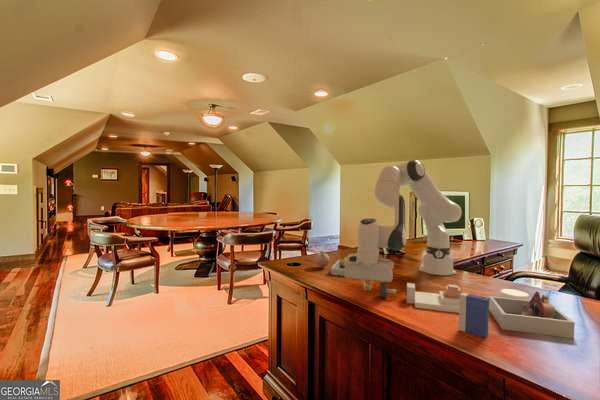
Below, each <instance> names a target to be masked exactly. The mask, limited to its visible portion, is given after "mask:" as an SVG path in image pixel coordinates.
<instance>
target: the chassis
mask: <svg viewBox="0 0 600 400" xmlns="http://www.w3.org/2000/svg"><path fill="white" fill-rule="evenodd" d="M462 293H463V292H461V294H462ZM459 301H460V299H453V298H445V290H444V291H443V290H439V291H438V293H434V292H427V291H426V292H425V291H417V290H416V284H415V283H413V282H406V304H411V305H414V308H416V309H417V308H418V309H424V310H430V311H431V310H432V311H433V310H434V311H442V312H447V313H458V314H459V306H460V305H459Z"/></svg>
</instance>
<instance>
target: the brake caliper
mask: <svg viewBox="0 0 600 400" xmlns="http://www.w3.org/2000/svg"><path fill="white" fill-rule="evenodd" d="M549 298H550V296H549V295H546V294H543V293H542V296H541V295H540V292H539V291H538V290H536V291H535V293H534V294H533V295H532V297H531V300H530V299H529V300H530V303H529V304H530V309H527V308H526V305H525V304H524V305H523V306H522V309H521V311H520V314H519V315H524V316H533V317H541V318H550V319H555V315H556V311H555V308H554V307H555V306H554V305H553V304H552V303H551V304H552V305H551V304H550V299H549ZM542 302H543V303H542ZM534 303H535V304H536V305H535V307H534Z"/></svg>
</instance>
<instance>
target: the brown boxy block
mask: <svg viewBox="0 0 600 400" xmlns="http://www.w3.org/2000/svg"><path fill="white" fill-rule="evenodd" d="M444 291H445V298H453V299H460V294H461V293H462V289H461V287H460V286H458V284H457V285H456V284H447V285H445V289H444Z"/></svg>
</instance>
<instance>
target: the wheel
mask: <svg viewBox="0 0 600 400" xmlns="http://www.w3.org/2000/svg"><path fill="white" fill-rule="evenodd" d="M379 284H380V285H379V298H382V299H383V298H384V299H386V298H387V297H388V293H390V294H397V292H398V291H397V290H398V289H395V288H394V289H392V288H391V289H390V288H388V282H387V283H386V282H380V283H379Z"/></svg>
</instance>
